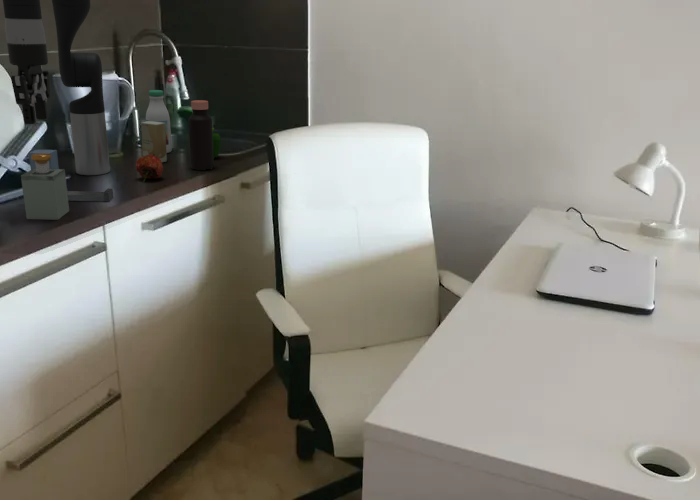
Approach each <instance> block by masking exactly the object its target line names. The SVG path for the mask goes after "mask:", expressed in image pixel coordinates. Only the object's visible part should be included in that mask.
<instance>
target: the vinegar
mask: <svg viewBox="0 0 700 500" xmlns="http://www.w3.org/2000/svg"><path fill="white" fill-rule="evenodd" d="M190 107H191V108H190V109H191V111H192V114H191V115H190V116H189V118H188V134H189V135H188V136H189V152H190V153H189V155H190V156H189V158H190V168H191V169H192V170H193V169H196V170H195V171H200V170H204V169H211V168H213V167H214V166H215V162H214V159H215V158H213V131H214V130H213V131H212V128H213V118H212V117H211V116H210V114H208V111H209V101H208V100H204V99H203V100H202V99H200V100H199V99H197V100H191V101H190ZM213 169H214V168H213ZM211 170H212V169H211ZM204 171H205V170H204Z"/></svg>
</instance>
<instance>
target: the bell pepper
mask: <svg viewBox="0 0 700 500" xmlns="http://www.w3.org/2000/svg"><path fill="white" fill-rule="evenodd" d="M214 130H215V128H214V127H212V131H214ZM221 139H222V138H221V135H220V134H219V133H215V132H214V133H213V158H214V159H216V158H218V155H219V154H220V150H221V149H220V148H221V145H222V143H221V141H222V140H221ZM215 157H216V158H215Z"/></svg>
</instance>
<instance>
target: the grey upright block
mask: <svg viewBox="0 0 700 500" xmlns="http://www.w3.org/2000/svg"><path fill="white" fill-rule="evenodd" d="M20 178H21V179H20V181H21V187H22V195H23V202H24V209H25V216H26V217H25V218H26V220H52V221H53V220H54V221H55V220H57V221H58V220H60V219H61V218H63V217H64V216H66V214H68V213H69V212H70V206H69V201H68V195H67V191H68V188H67V187H68V186H67V179H66V169H65V168H63V169H62V168H59V169H50V174H49V175H44V174H37V173H36V169H32V170H31V169H30V170H28V171H27V172H25V173H23V174H21V175H20Z"/></svg>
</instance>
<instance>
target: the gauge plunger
mask: <svg viewBox="0 0 700 500" xmlns="http://www.w3.org/2000/svg"><path fill="white" fill-rule="evenodd" d="M31 157H32V160H33V161H35V165H36V173H37V174H44V175H49V174H50V168H49V160H51V154H49V153H36V154H32V155H31Z"/></svg>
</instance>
